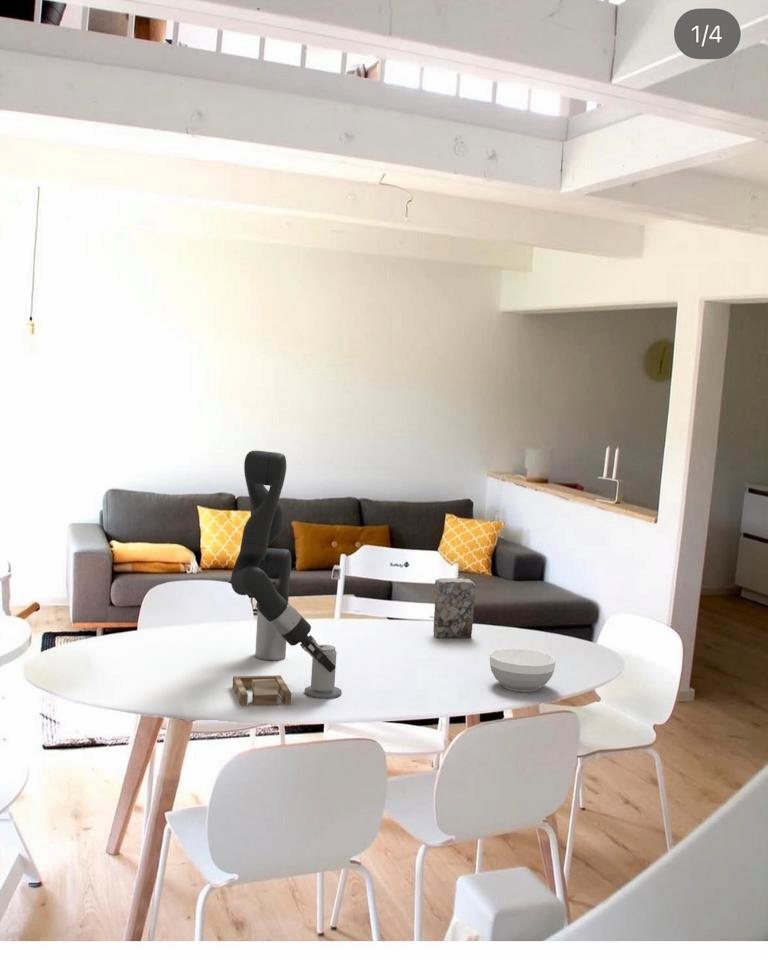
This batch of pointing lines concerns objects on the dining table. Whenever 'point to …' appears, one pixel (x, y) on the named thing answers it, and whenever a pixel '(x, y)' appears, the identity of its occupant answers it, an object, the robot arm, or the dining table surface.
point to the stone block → (454, 608)
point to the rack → (246, 682)
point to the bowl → (522, 669)
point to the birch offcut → (264, 687)
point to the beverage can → (323, 671)
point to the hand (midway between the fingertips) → (329, 665)
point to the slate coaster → (333, 694)
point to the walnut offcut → (264, 700)
